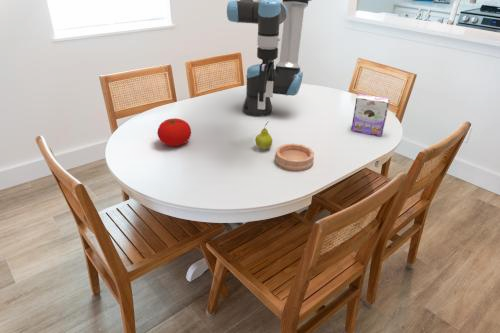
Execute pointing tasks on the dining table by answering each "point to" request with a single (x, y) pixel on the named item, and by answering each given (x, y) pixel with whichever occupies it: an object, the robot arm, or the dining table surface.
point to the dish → (294, 157)
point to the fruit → (263, 139)
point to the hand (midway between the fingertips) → (265, 102)
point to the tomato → (174, 132)
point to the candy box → (370, 114)
